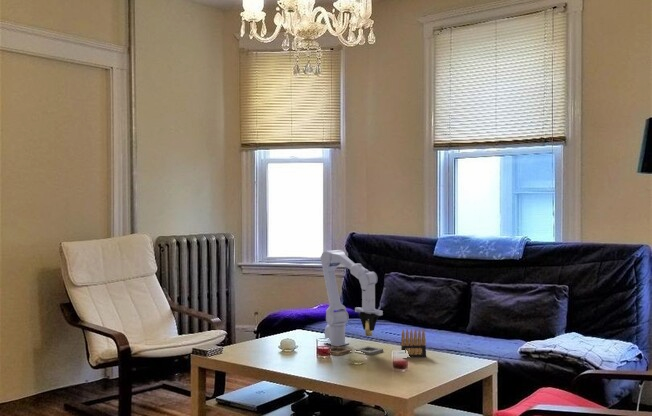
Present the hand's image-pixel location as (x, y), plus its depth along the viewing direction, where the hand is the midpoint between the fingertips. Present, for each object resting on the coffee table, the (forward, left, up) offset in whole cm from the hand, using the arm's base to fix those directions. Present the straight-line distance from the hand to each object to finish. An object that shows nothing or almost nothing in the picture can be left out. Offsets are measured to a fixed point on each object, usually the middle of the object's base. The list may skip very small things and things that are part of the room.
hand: (368, 329), depth 291 cm
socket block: (0, 0, -10) cm, 10 cm away
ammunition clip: (+20, +6, -10) cm, 23 cm away
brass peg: (0, 0, -2) cm, 2 cm away
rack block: (-10, -10, -10) cm, 17 cm away
